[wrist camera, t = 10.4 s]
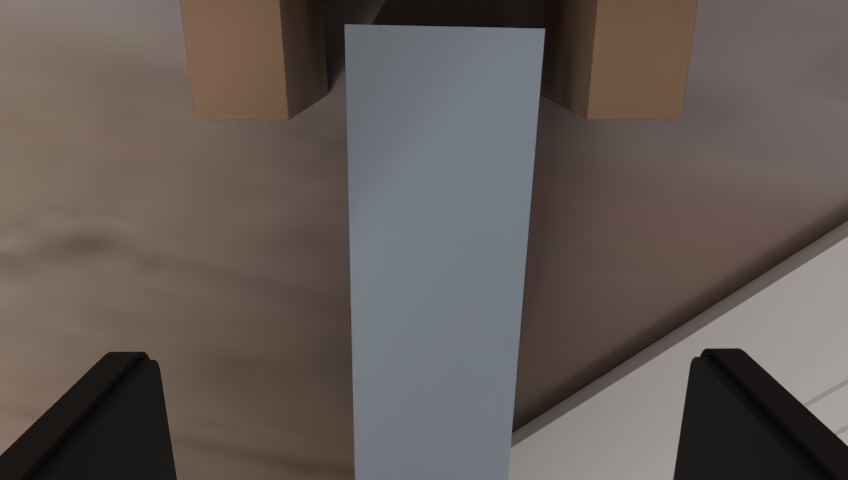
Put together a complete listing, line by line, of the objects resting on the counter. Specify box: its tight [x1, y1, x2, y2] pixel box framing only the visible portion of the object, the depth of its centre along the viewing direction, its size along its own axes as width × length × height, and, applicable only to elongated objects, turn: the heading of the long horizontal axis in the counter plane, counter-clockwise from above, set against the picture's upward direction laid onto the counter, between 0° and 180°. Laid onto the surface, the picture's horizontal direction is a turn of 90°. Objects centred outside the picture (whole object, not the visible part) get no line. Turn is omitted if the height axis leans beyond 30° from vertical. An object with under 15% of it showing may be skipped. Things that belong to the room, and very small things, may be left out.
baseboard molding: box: [508, 221, 848, 480], centre depth 21 cm, size 31×3×12 cm
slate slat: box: [345, 24, 545, 480], centre depth 17 cm, size 4×14×6 cm, turn 179°
